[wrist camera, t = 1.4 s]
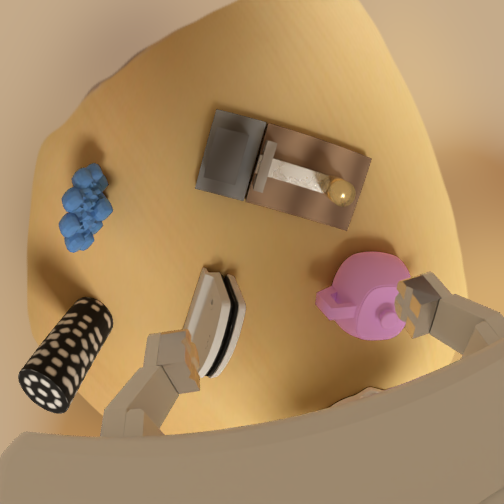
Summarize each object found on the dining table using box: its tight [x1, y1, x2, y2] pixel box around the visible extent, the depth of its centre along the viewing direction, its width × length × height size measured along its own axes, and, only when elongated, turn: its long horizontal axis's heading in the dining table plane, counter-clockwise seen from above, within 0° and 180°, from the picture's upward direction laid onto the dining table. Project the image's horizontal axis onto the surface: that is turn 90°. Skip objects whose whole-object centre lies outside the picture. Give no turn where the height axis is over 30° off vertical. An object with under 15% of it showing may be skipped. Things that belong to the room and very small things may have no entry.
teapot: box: [315, 252, 411, 340], centre depth 45 cm, size 13×20×11 cm, turn 86°
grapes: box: [59, 163, 113, 253], centre depth 38 cm, size 12×7×12 cm, turn 171°
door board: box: [195, 109, 372, 231], centre depth 40 cm, size 22×11×5 cm, turn 74°
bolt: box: [255, 154, 356, 207], centre depth 38 cm, size 12×3×7 cm, turn 74°
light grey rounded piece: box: [183, 267, 246, 378], centre depth 47 cm, size 17×5×10 cm, turn 160°
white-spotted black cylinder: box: [18, 297, 113, 413], centre depth 42 cm, size 8×8×20 cm
